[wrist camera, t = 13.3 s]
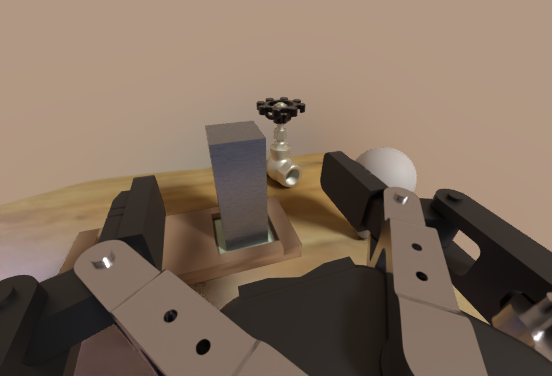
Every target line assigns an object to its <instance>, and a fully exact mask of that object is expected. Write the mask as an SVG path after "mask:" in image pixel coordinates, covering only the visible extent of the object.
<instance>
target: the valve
mask: <svg viewBox="0 0 552 376" xmlns="http://www.w3.org/2000/svg"><path fill="white" fill-rule="evenodd" d="M272 106H274V107H272ZM289 106H290V107H289ZM298 109H300V113H303V112H305V104H304V103H301V100H299V99H294V100H293V101H290V100H288V98H286V97H281V98H280V100H274V99H273V98H266V102H264V101H258V102H257V110H259V114H260V115H265V116H266V117H267V118H268V119H270V120H273V122H274V123H276V124H277V128H275V129H274V139H276V141H275V142H274V144H272V145H271V146H270V150H268V151H266V168H267V173H268V175H269V176H270V177H271V178H272V179H273V180H275V181H278V182H279V183H280V184H282V185H283V186H286V187H293V186H295V185H296V184H297V183H298V182H299V181H300V179H301V175H302V169H301V167H299V166H297V165H296V164H294V163H293V162H292V161H291V159H290V158H288V155H289V154H290V145H288V144H287V142H286V141H284V140H285V139H286V138H287V129H286V128H284V124H286V123H287V122H288V121H290V120H291V117H296V116H297V110H298ZM268 112H271V113H272V115H269V113H268Z"/></svg>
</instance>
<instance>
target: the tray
mask: <svg viewBox="0 0 552 376" xmlns="http://www.w3.org/2000/svg"><path fill="white" fill-rule="evenodd" d="M267 206H268V242H267V243H262V244H258V245H254V246H250V247H245V248H241V249H237V250H232V251H228V252H227V249H226V244H225V238H224V233H223V228H222V222H221V216H220V211H219V206H218V207H212V208H207V209H202V210H196V211H191V212H186V213H180V214H175V215H169V216H166V220H165V234H164V248H163V262H162V271H163V270H164V269H167V270H169V271H170V272H172V273H173V274H174V275H176V276H177V277H178V278H179V279H181V280H182V281H183V282H184V283H185V284H187V285H191V284H195V283H199V282H203V281H207V280H211V279H215V278H218V277H222V276H226V275H230V274H234V273H238V272H242V271H245V270H249V269H253V268H257V267H261V266H265V265H269V264H272V263H276V262H280V261H284V260H288V259H292V258H296V257H299V256H301V251H302V243H301V241H300V240H299V238H298V236H297V234H296V232H295V230H294V228H293V227H292V225H291V223H290V221H289V219H288V217H287V215H286V214H285V212H284V210H283V208H282V206H281V204H280V203H279V201H278V199H277V197H276V196H271V197H267ZM102 229H103V228H100V229H94V230H89V231H84V232H79V234H78V236H77V238H76V240H75V242H74V244H73V246H72V248H71V250H70V252H69V254H68V256H67V258H66V260H65V262H64V264H63V266H62V268H61V270H60V272H59V274H61V273H64V272H66V271H68V270H71V269H72V268H74V265H75V262H76V261H77V259H78V258H79V257H80V255H81V254H82V253H84V252H85V251H86V250H87V249H89V248H91V247H92V246H94V245H96V244H97V243H98V240H99V238H100V235H101V232H102ZM59 274H58V275H59Z"/></svg>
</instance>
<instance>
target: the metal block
mask: <svg viewBox="0 0 552 376" xmlns="http://www.w3.org/2000/svg"><path fill="white" fill-rule="evenodd" d="M205 129H206V134H207V140H208V146H209V152H210V158H211V164H212V170H213V175H214V181H215V187H216V193H217V199H218V205H219V211H220V216H221V222H222V228H223V233H224V238H225V244H226V249H227V252H228V251H232V250H237V249H241V248H245V247H250V246H254V245H258V244H262V243H267V242H268V206H267V168H266V138H265V137H264V135H263V134H262V132H261V131H260V130H259V128H258V127H257V125H256V124H255V123H254V121H247V122H237V123H227V124H217V125H208V126H205Z"/></svg>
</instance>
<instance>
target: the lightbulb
mask: <svg viewBox="0 0 552 376" xmlns="http://www.w3.org/2000/svg"><path fill="white" fill-rule="evenodd" d="M355 161H356V162H358V163H360V164H362V165H363V166H364V167H365V168H366V170H369V171H370V172H371V173H372V174H374V175H375V176H376V177H377V178H379V179H380V180H381V181H382V182H384V183H385V184H386V185H387V186H388V187H401V188H405V189H407V190H410V191H412V192H413V191H414V189H415V186H416V180H417V176H416V170H415V167H414V165H413V163H412V162H411V160H410V159H409V158H408V157H407V156H406V155H405V154H404V153H402V152H400V151H398V150H395V149H393V148H388V147H380V148H374V149H371V150H368V151H366V152H365V153H363V154H361V155H360V156H359V157H358V158H357V159H356V160H355ZM355 232H356V233H357V234H358V235H359V236H360V237H362V238H364V239H368V236H369V233H370V232H369V231H368V230H366V231H362V232H357V231H356V230H355Z"/></svg>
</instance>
